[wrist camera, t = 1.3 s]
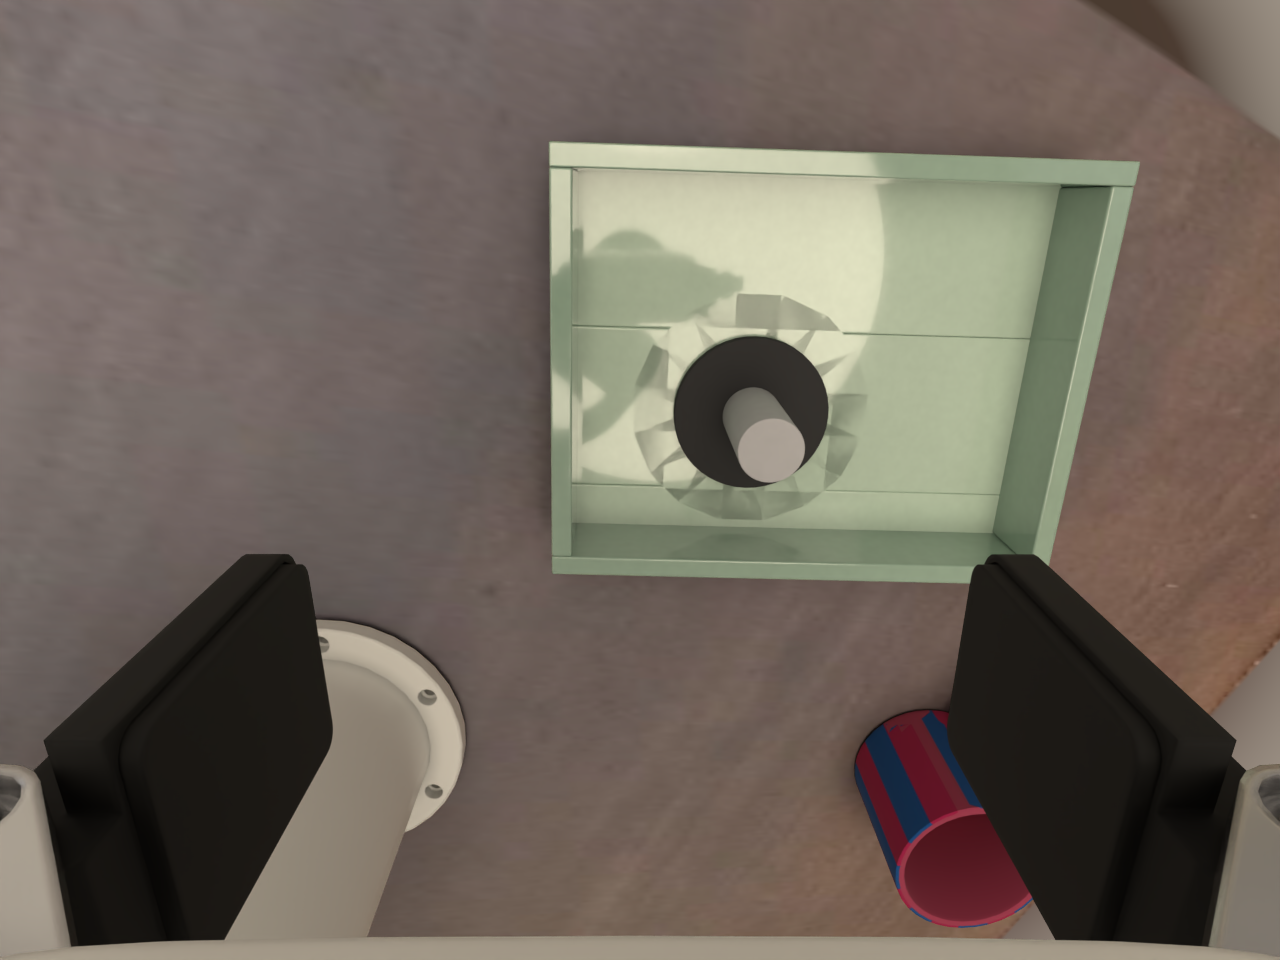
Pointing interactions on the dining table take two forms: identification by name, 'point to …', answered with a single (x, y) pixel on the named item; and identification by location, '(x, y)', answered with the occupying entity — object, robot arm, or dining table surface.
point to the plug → (750, 412)
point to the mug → (935, 826)
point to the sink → (1021, 526)
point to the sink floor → (808, 340)
